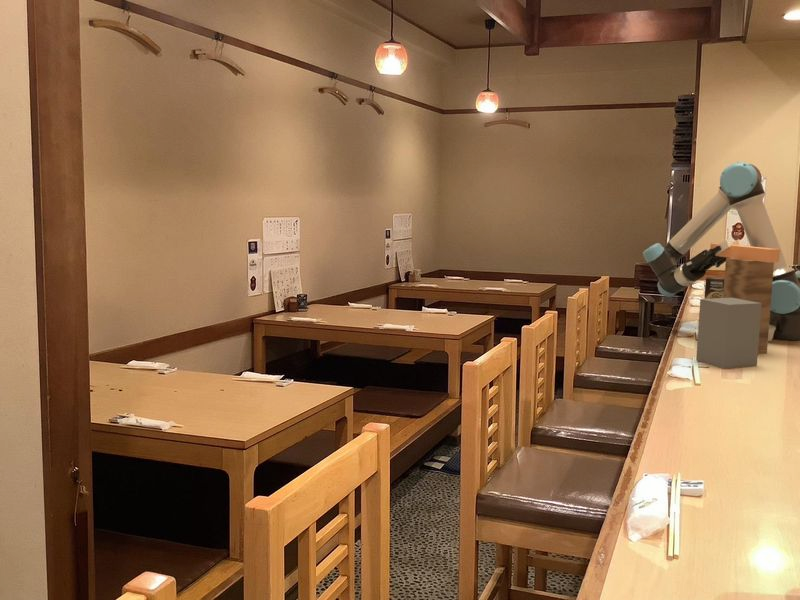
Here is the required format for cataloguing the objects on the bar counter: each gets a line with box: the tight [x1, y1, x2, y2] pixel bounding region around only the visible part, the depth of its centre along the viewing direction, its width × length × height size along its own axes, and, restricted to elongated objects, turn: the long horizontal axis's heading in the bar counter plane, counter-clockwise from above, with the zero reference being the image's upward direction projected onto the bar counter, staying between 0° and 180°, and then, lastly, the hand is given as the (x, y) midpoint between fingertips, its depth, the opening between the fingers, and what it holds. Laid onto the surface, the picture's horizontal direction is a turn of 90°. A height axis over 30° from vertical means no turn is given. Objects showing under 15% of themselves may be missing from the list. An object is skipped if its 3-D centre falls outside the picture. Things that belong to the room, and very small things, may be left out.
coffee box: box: [703, 276, 725, 299], centre depth 319 cm, size 9×6×16 cm
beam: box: [709, 242, 780, 262], centre depth 250 cm, size 26×4×4 cm, turn 19°
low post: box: [695, 298, 762, 370], centre depth 232 cm, size 12×12×19 cm
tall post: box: [723, 258, 774, 355], centre depth 249 cm, size 10×10×30 cm
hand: (734, 243), depth 254 cm, fingers closed on beam, 4 cm apart
